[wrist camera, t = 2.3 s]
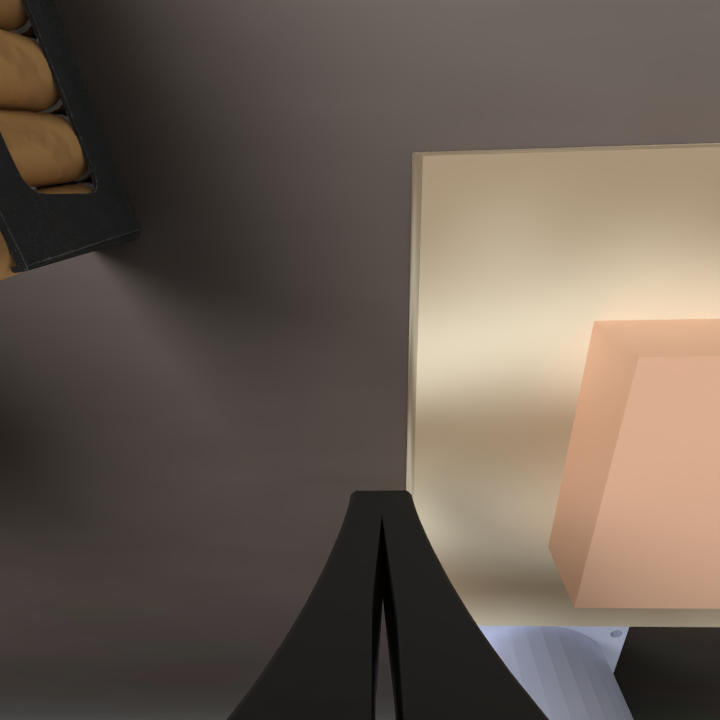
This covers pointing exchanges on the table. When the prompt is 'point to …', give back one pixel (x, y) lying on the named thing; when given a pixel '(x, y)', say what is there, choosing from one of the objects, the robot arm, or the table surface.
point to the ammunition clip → (51, 149)
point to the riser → (536, 343)
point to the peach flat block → (644, 469)
